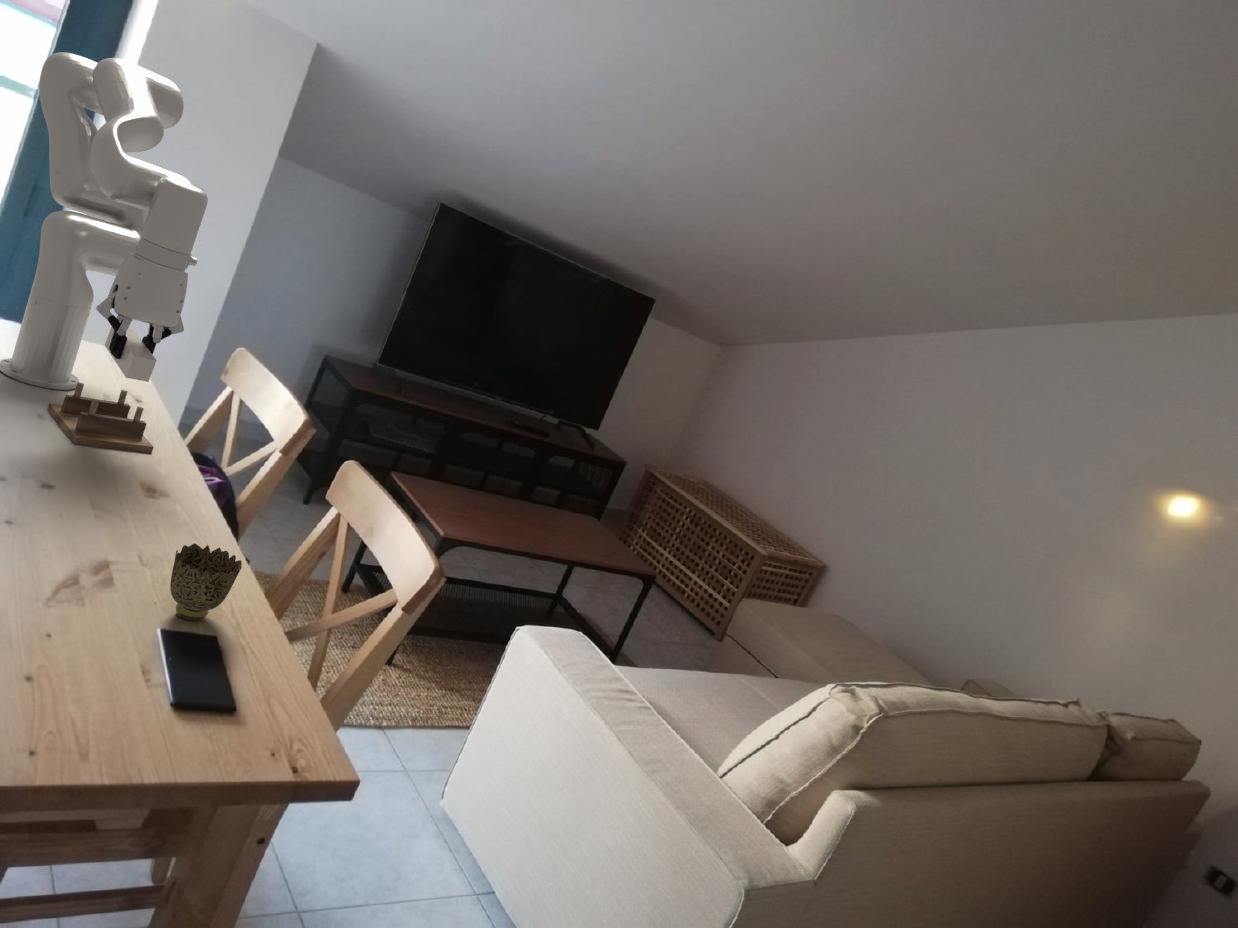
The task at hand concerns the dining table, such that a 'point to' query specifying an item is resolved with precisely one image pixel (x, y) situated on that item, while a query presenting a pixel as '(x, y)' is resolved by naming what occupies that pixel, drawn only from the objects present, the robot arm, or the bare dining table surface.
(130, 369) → the white rectangular block
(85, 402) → the walnut rack
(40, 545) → the dining table surface
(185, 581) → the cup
